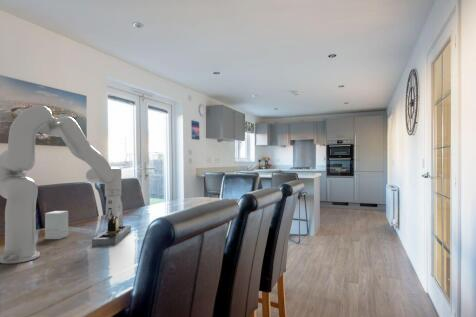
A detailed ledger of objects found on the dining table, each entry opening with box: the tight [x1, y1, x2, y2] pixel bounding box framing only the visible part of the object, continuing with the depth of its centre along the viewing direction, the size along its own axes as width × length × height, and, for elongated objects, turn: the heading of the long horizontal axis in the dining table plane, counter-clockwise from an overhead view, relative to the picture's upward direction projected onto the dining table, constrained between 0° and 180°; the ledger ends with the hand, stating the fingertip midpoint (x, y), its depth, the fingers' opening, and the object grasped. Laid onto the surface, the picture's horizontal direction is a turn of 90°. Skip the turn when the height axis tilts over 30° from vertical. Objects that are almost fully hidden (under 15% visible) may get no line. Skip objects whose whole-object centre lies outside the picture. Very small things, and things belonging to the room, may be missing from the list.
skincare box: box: [111, 201, 124, 226], centre depth 166 cm, size 8×6×15 cm
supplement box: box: [44, 210, 69, 240], centre depth 148 cm, size 7×7×13 cm
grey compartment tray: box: [91, 225, 132, 247], centre depth 146 cm, size 28×10×3 cm, turn 6°
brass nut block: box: [107, 217, 119, 233], centre depth 146 cm, size 4×4×9 cm
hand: (113, 229), depth 146 cm, fingers open, 4 cm apart
